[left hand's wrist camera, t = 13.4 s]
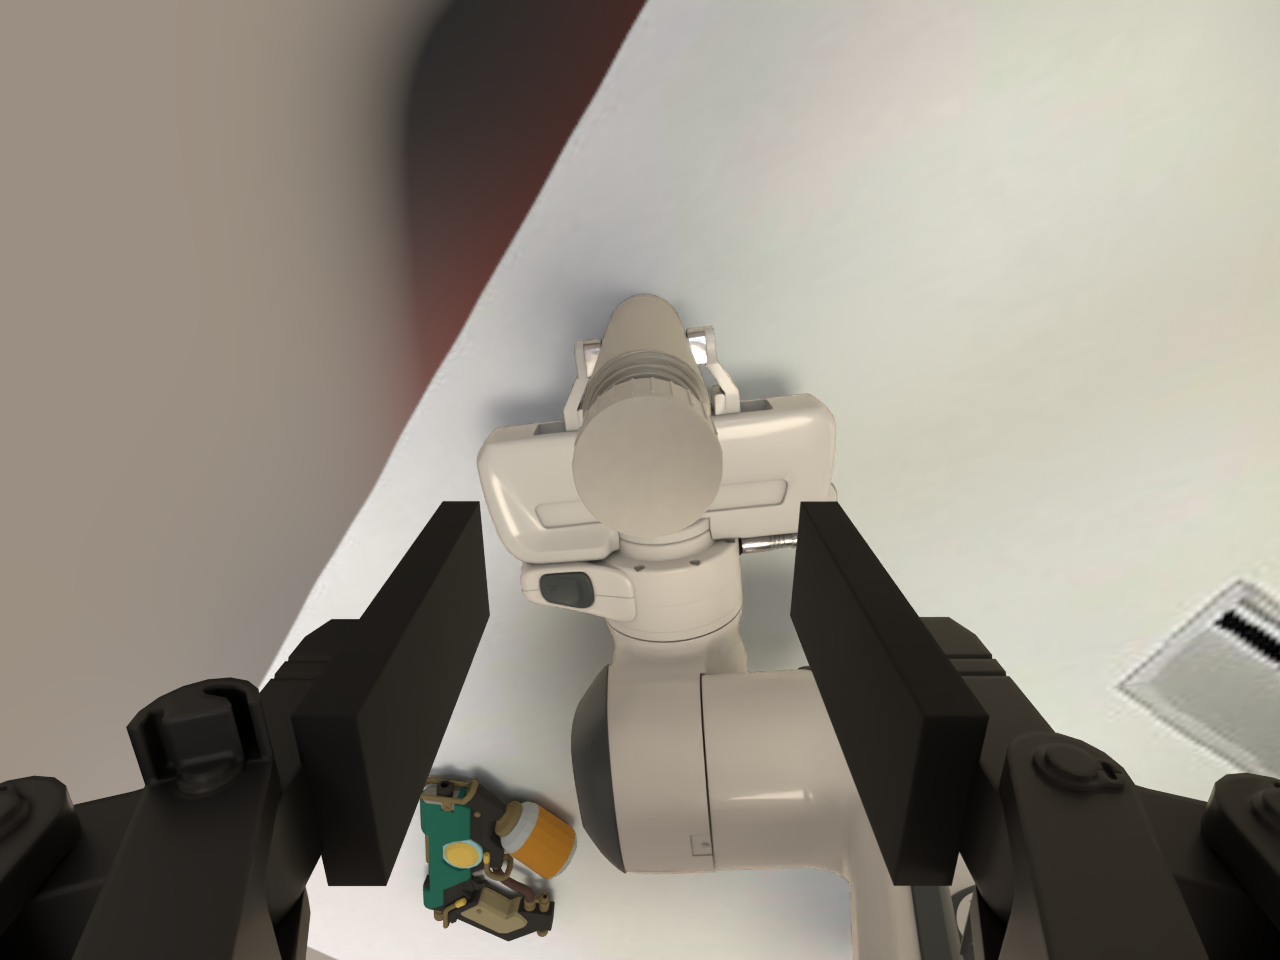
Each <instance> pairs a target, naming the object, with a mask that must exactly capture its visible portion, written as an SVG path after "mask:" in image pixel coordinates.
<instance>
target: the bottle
mask: <svg viewBox="0 0 1280 960" xmlns="http://www.w3.org/2000/svg"><path fill="white" fill-rule="evenodd" d="M651 377H654V379H660V380H665V381H668V382H670V381H673V383H674V384H676V385H678V386H681V387H682V388H684V389H686V390H688V389H689V390H690V392H691V394H692V395H693V396H695V397H696V398H697V399H698V400H699V402H700V403H701V402H703V404H704V406H705V409H706V411H707V413H708V415H709V417H711V405H710V399H709V395H708V392H707V389H706V386H705V384H704V381H703V379H702V376H701V373H700V371H699V368H698V365H697V363H696V360H695V358H694V355H693V352H692V350H691V347H690V344H689V342H688V339H687V337H686V334H685V331H684V329H683V326H682V324H681V321H680V318H679V316H678V314H677V312H676V311H675V309H674V308H673V307H672V306H671V305H670V304H669V303H668V302H667V301H665V300H664V299H662V298H660V297H657V296H654V295H648V294H642V295H636V296H633V297H630V298H628V299H626V300H625V301H623V302H622V303H621V304H620V305H619V306H618V307H617V308H616V309H615V311H614V312H613V314H612V316H611V318H610V321H609V324H608V327H607V330H606V333H605V336H604V339H603V342H602V345H601V348H600V351H599V354H598V357H597V360H596V363H595V366H594V369H593V372H592V375H591V378H590V381H589V384H588V387H587V390H586V393H585V396H584V401H583V412H582V415H583V419H584V416H585V412H586V410H588V411H589V409H590V408H591V406H592V405H593V404H594V402H595V401H596V400H597V397H598V396H601V395H602V394H604V393H605V392H606V391H608V390H609V389H611V388H612V387H613V385H618V384H621V383H624V382H626V381H630V380H631V379H632V378H634V380H635V379H643V378H651Z"/></svg>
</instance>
